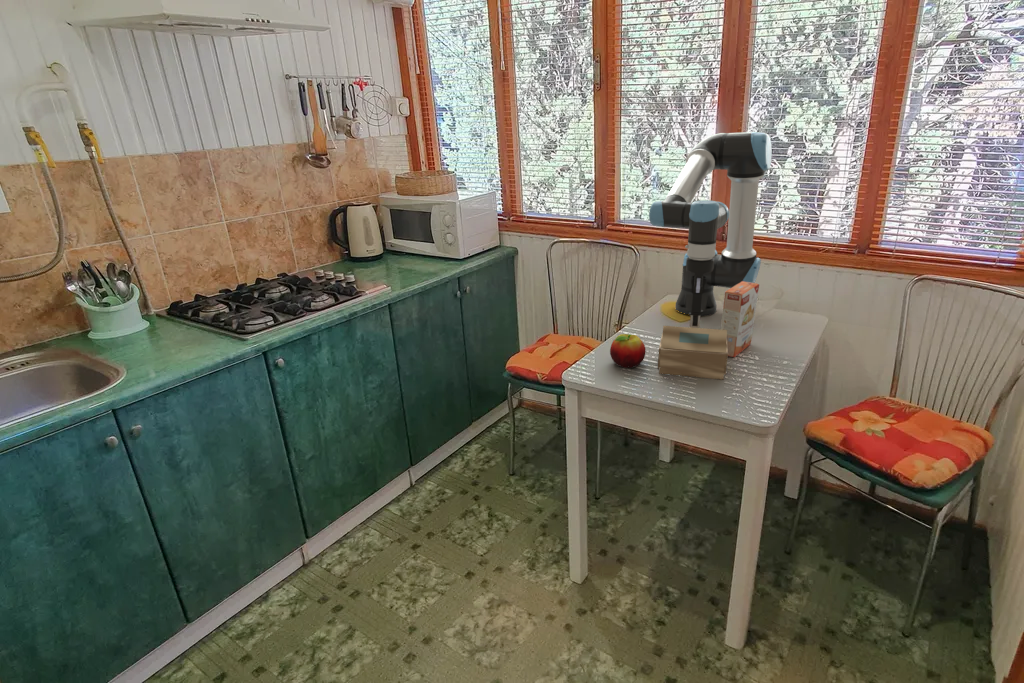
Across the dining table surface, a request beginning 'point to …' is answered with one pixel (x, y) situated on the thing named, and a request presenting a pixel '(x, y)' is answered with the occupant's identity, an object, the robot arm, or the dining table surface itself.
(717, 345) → the flap
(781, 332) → the dining table surface
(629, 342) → the fruit
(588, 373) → the dining table surface
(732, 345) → the cracker box
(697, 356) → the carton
